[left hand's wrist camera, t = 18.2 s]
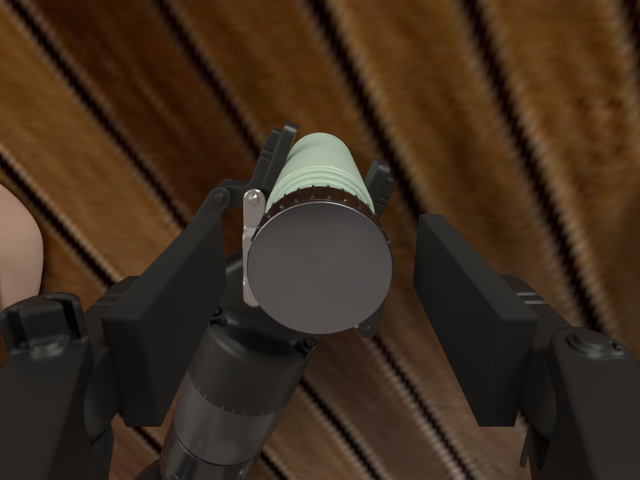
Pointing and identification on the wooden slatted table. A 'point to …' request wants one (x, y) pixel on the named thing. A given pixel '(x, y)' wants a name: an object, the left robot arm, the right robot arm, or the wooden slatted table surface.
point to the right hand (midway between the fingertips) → (337, 145)
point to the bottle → (319, 168)
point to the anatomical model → (18, 251)
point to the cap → (319, 261)
